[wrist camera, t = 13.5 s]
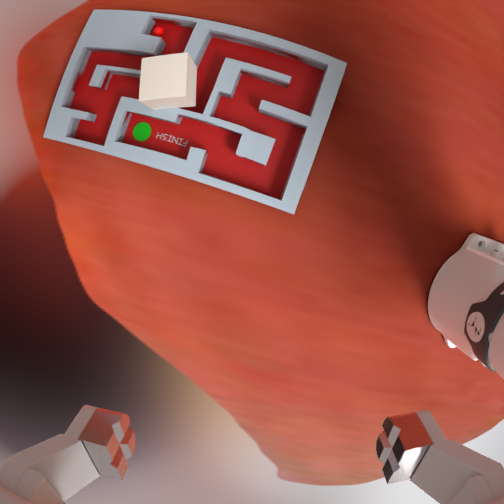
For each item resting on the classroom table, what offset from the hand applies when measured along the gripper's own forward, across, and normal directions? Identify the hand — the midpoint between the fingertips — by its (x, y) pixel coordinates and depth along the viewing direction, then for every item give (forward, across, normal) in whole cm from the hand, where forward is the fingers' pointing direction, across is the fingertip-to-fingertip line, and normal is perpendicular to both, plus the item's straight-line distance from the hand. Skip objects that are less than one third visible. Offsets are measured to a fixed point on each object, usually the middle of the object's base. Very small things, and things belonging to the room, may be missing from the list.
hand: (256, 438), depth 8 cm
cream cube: (+28, +10, -18) cm, 35 cm away
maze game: (+32, +10, -18) cm, 38 cm away
